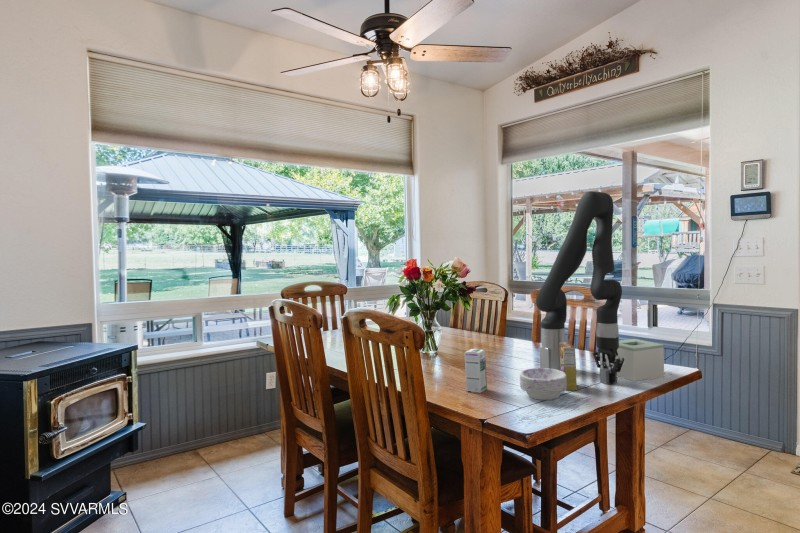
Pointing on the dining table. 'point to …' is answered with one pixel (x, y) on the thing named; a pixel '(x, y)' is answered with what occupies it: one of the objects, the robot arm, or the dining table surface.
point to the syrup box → (475, 370)
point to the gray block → (606, 376)
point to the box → (641, 359)
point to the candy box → (568, 364)
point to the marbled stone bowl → (543, 383)
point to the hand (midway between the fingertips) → (608, 381)
